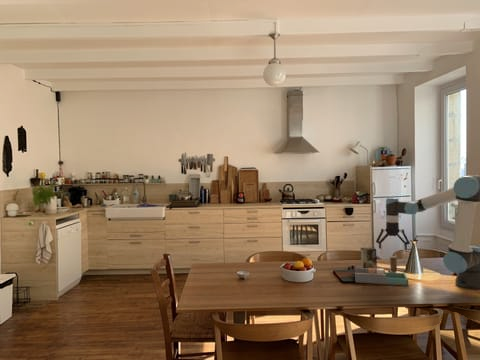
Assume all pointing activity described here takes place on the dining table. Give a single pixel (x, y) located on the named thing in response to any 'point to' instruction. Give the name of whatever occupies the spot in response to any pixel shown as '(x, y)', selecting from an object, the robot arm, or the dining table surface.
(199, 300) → the dining table surface
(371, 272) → the peach cube block
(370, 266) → the coffee box
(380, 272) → the cream cube
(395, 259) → the brown block with tab
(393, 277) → the chute tray
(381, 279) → the slot board
